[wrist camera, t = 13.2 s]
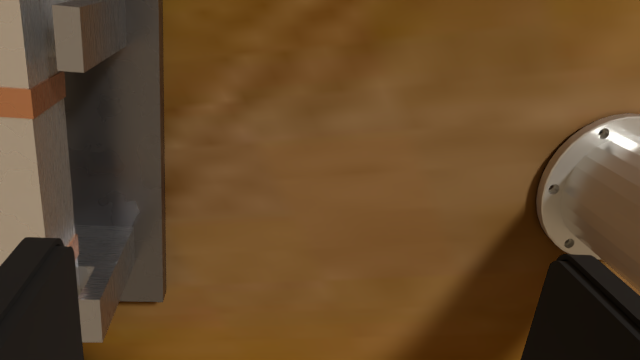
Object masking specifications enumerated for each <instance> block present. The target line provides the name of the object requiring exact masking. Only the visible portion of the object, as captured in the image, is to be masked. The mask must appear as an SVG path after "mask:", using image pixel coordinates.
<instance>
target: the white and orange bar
mask: <svg viewBox="0 0 640 360" xmlns="http://www.w3.org/2000/svg"><path fill="white" fill-rule="evenodd" d="M53 4H56V0H0V266H1V264H2V263H3V262H4V261H5V260H6V259H7V257H8V256H9V255H10V254H11V253H12V251H13V250H14V249H15V248H16V247H17V246H18V244H19V243H20V242H21V241H22V240H23V239H24V238H25V237H41V238H60V239H61V240H62V241H63V244H64V246H71V247H72V248H73V250H74V255H75V266H76V278H77V289H78V298H79V296H80V282H79V270H78V259H77V257H78V255H79V243H78V234H75V223H74V211H73V200H72V188H71V176H70V164H69V153H68V141H67V129H66V117H65V105H64V97H66V87H65V75H64V71H57V60H56V48H55V37H54V26H53V14H52V5H53Z"/></svg>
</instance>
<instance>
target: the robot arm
mask: <svg viewBox="0 0 640 360" xmlns="http://www.w3.org/2000/svg"><path fill="white" fill-rule="evenodd" d="M536 205H537V215H538V218H539V221H540V225H541V227H542V228H543V230H544V232H545V234H546V235H547V236H548V237H549V238H550V239H551V240H552V241H553V242H554V244H555V245H557V246H558V247H559V248H560V249H561V250H563V251H564V252H566V253H569V254H563V255H561V256H560V257H559V258H558V259H557V261H554V262H552V263H551V264H550V266H549V269H548V272H547V275H546V278H545V282H544V285H543V288H542V292H541V295H540V298H539V302H538V305H537V308H536V311H535V315H534V318H533V321H532V325H531V328H530V331H529V335H528V338H527V341H526V344H525V348H524V351H523V354H522V358H521V360H640V296H639V295H638V294H637V293H636V292H634V291H633V290H632V289H631V288H630V287H629V286H628V285H626V284H625V283H624V282H623V281H622V280H621V279H619V278H618V277H617V276H616V275H615V274H614V273H613V272H611V271H610V270H609V269H608V268H607V267H606V266H605V265H603V264H602V263H601V262H600V261H599V260H603V261H605V262H606V263H607V264H608V265H609V266H610V267H612V268H613V269H614V270H615V271H616V272H617V273H619V274H620V275H621V276H622V277H623V278H624V279H626V280H627V281H628V282H629V283H630V284H631V285H632V286H634V287H635V288H636V289H637V290H638V291H639V292H640V114H630V113H627V114H619V115H612V116H609V117H606V118H603V119H599V120H597V121H595V122H593V123H591V124H589V125H587V126H585V127H583V128H582V129H581V130H579V131H578V132H576V133H575V134H574V135H572V136H571V137H570V138H569V139H568V140H567V141H566V142H565V143H564V144H563V145H562V146H561V147H560V148H559V149H558V150H557V151H556V153H555V154H554V155H553V157H552V158H551V159H550V161H549V163H548V165H547V166H546V168H545V170H544V172H543V174H542V177H541V180H540V183H539V186H538V192H537V199H536ZM0 360H84V358H83V346H82V335H81V324H80V312H79V301H78V289H77V278H76V266H75V255H74V250H73V248H72V247H71V246H64V244H63V241H62V240H61V239H60V238H41V237H25V238H24V239H23V240H22V241H21V242H20V243H19V244H18V246H17V247H16V248H15V249H14V250H13V251H12V253H11V254H10V255H9V256H8V257H7V259H6V260H5V261H4V262H3V263H2V264H1V266H0Z"/></svg>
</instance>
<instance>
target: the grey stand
mask: <svg viewBox="0 0 640 360" xmlns="http://www.w3.org/2000/svg"><path fill="white" fill-rule="evenodd" d="M52 14H53V26H54V37H55V48H56V60H57V71H64V75H65V87H66V97H64V105H65V117H66V129H67V141H68V153H69V164H70V176H71V188H72V200H73V211H74V223H75V234H78V243H79V255H78V257H77V259H78V270H79V282H80V296H79V298H78V301H79V312H80V324H81V335H82V342H103V340H104V338H105V335H106V333H107V330H108V328H109V325H110V323H111V320H112V318H113V316H114V313H115V311H116V308H117V306H118V303H119V301H134V302H163V300H164V297H165V293H166V242H165V163H164V84H163V6H162V0H56V4H53V5H52Z"/></svg>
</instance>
